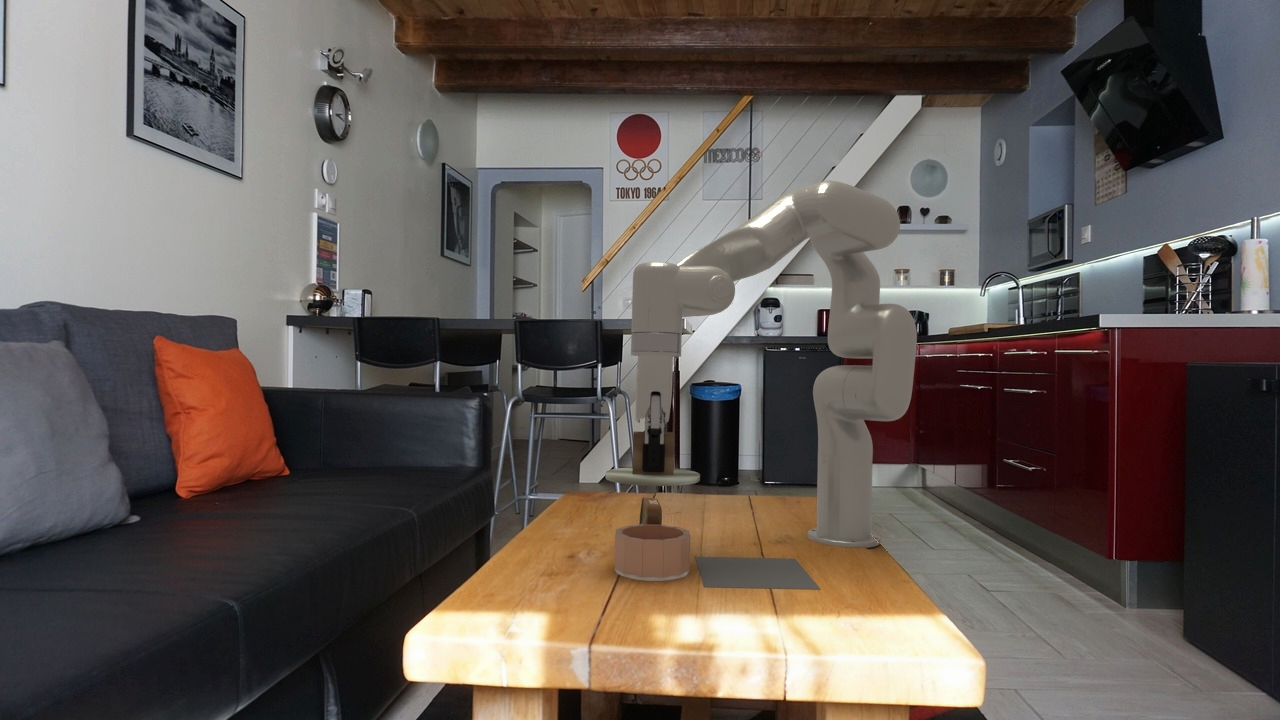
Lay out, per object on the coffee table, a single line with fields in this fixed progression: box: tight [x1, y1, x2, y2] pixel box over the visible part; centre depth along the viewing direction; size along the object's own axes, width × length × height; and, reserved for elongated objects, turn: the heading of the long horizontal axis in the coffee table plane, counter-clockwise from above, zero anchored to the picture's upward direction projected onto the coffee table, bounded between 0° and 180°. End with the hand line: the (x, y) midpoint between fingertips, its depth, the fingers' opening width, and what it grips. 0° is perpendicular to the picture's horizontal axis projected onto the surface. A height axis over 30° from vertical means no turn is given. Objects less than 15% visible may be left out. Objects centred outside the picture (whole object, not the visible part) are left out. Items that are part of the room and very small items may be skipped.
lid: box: [605, 431, 701, 487], centre depth 105 cm, size 14×14×7 cm
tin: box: [638, 496, 663, 525], centre depth 119 cm, size 15×3×8 cm, turn 3°
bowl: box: [614, 524, 691, 582], centre depth 105 cm, size 11×11×6 cm
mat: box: [694, 556, 822, 591], centre depth 105 cm, size 16×16×1 cm
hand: (653, 468), depth 105 cm, fingers closed on lid, 3 cm apart
